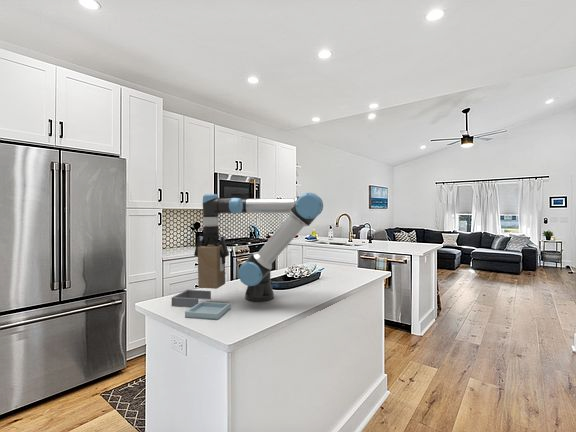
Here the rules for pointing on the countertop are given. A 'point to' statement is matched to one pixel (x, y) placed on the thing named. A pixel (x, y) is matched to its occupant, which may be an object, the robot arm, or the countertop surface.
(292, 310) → the countertop surface
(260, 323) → the countertop surface
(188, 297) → the bay
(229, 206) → the robot arm
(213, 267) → the wooden block
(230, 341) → the countertop surface
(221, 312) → the tray
